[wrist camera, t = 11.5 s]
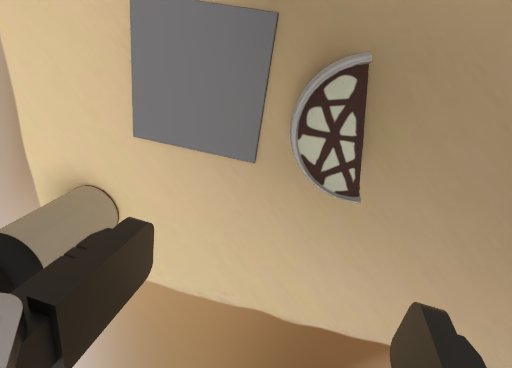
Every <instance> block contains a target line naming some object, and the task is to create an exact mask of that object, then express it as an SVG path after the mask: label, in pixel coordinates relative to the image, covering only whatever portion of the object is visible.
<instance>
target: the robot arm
mask: <svg viewBox="0 0 512 368" xmlns="http://www.w3.org/2000/svg"><path fill="white" fill-rule="evenodd" d="M153 245H154V226H153V224H152V223H149V222H145V221H142V220H139V219H135V218H132V217H128V218H126V219H124V220H123V221H122V222H120V223H119V224H118V225H117V226H115V227H114V228H113V229H111V228H105V229H103V230H100V231H98V232H95V233H93V234H90V235H89V236H87V237H86V238H85V239H83V240H82V241H81V242H79V243H78V244H76V247H72V248H71V249H70V250H68V251H67V252H66V253H64V255H63V256H60V257H59V258H57V259H56V260H55V261H53V262H52V263H50V264H49V265H48V266H46V267H45V268H44V269H42V270H41V271H39V272H38V273H37V274H35V275H34V276H33V277H31V278H30V279H29V280H27V281H26V282H24V283H23V284H22V285H20V286H19V287H18V288H16V289H15V290H13V291H12V292H10V293H9V294H7V293H0V368H72V367H73V366H74V365H75V364H76V362H77V361H78V360H79V359H80V358H81V356H82V355H83V354H84V353H85V352H86V350H87V349H88V348H89V347H90V346H91V345H92V343H93V342H94V341H95V340H96V339H97V337H98V336H99V335H100V334H101V333H102V331H103V330H104V329H105V328H106V327H107V325H108V324H109V323H110V322H111V321H112V319H113V318H114V317H115V316H116V315H117V313H118V312H119V311H120V310H121V309H122V308H123V306H124V305H125V304H126V303H127V302H128V300H129V299H130V298H131V297H132V296H133V294H134V293H135V292H136V291H137V290H138V289H139V287H140V286H141V285H142V284H143V283H144V281H145V280H146V279H147V277H148V275H149V273H150V271H151V268H152V264H153ZM390 362H391V367H392V368H487V367H486V365H485V363H484V361H483V359H482V357H481V356H480V355H479V354H478V352H477V351H476V350H475V349H474V348H473V346H472V345H471V344H470V343H469V342H468V341H467V339H466V338H465V337H464V336H461V335H457V333H456V331H455V328H454V326H453V324H452V322H451V319H450V317H449V315H448V314H447V312H446V311H444V310H441V309H438V308H434V307H431V306H428V305H424V304H421V303H418V302H414V303H412V304H411V306H410V307H409V309H408V311H407V313H406V315H405V316H404V318H403V320H402V322H401V324H400V326H399V328H398V330H397V331H396V333H395V335H394V337H393V339H392V342H391V347H390Z"/></svg>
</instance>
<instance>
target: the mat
mask: <svg viewBox="0 0 512 368" xmlns="http://www.w3.org/2000/svg"><path fill="white" fill-rule="evenodd" d="M277 20H278V13H277V12H270V11H263V10H256V9H250V8H243V7H236V6H230V5H223V4H216V3H209V2H203V1H196V0H130V24H131V64H132V103H133V137H138V138H142V139H147V140H151V141H156V142H160V143H165V144H169V145H174V146H179V147H183V148H188V149H192V150H197V151H201V152H206V153H210V154H215V155H219V156H224V157H229V158H233V159H238V160H242V161H247V162H251V163H254V162H255V159H256V153H257V146H258V140H259V134H260V127H261V121H262V115H263V108H264V102H265V96H266V89H267V83H268V77H269V70H270V64H271V58H272V51H273V45H274V39H275V32H276V26H277Z"/></svg>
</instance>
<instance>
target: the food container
mask: <svg viewBox="0 0 512 368" xmlns="http://www.w3.org/2000/svg"><path fill="white" fill-rule="evenodd" d="M372 61H373V59H372V55H371V53H370V52H364V53H357V54H354V55H351V56H347V57H344V58H342V59H340V60H338V61H336V62H334V63H332V64H330V65H329V66H327V67H326V68H324V69H323V70H321V71H320V72H319V73H318V74H317V75H316V76H315V77H314V78H313V79H312V80H311V81H310V82H309V83H308V85H307V86H306V87H305V88H304V90H303V91H302V93H301V95H300V96H299V98H298V100H297V102H296V105H295V107H294V110H293V114H292V118H291V124H290V138H291V145H292V149H293V153H294V155H295V158H296V160H297V162H298V164H299V167H300V168H301V170H302V171H303V173H304V174H305V176H306V177H307V178H308V179H309V180H310V181H311V182H312V183H313V184H314V185H315V186H316V187H318V188H319V189H320V190H322V191H324V192H325V193H327V194H329V195H331V196H333V197H336V198H338V199H341V200H345V201H349V202H355V203H361V199H360V193H359V190H360V186H359V183H360V171H361V158H362V147H363V137H364V120H365V108H366V95H367V82H368V67H369V63H370V62H372Z"/></svg>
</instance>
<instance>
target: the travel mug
mask: <svg viewBox="0 0 512 368" xmlns="http://www.w3.org/2000/svg"><path fill="white" fill-rule="evenodd" d="M117 222H118V213H117V210H116V207H115V205H114V203H113V202H112V200H111V199H110V198H109V197H108V196H107V195H106V194H105V193H104V192H102V191H101V190H99V189H97V188H95V187H91V186H81V187H78V188H76V189H74V190H72V191H71V192H69V193H67V194H65V195H63V196H61V197H59V198H57V199H56V200H54V201H52V202H50V203H48V204H46V205H44V206H42V207H40V208H39V209H37V210H35V211H33V212H31V213H29V214H27V215H26V216H24V217H22V218H20V219H18V220H16V221H14V222H12V223H10V224H8V225H7V226H5V227H3V228H1V229H0V293H7V294H9V293H10V292H12V291H13V290H15V289H16V288H18V287H19V286H20V285H22V284H23V283H24V282H26V281H27V280H29V279H30V278H31V277H33V276H34V275H35V274H37V273H38V272H39V271H41V270H42V269H44V268H45V267H46V266H48V265H49V264H50V263H52V262H53V261H55V260H56V259H57V258H59V257H60V256H63V255H64V253H66V252H67V251H68V250H70V249H71V248H72V247H76V244H78V243H79V242H81V241H82V240H83V239H85V238H86V237H87V236H89V235H90V234H93V233H95V232H98V231H100V230H103V229H105V228H111V229H113V228H114V227H115V226H116V225H117Z"/></svg>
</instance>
